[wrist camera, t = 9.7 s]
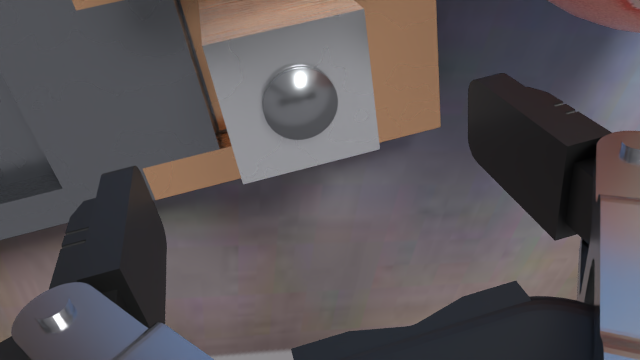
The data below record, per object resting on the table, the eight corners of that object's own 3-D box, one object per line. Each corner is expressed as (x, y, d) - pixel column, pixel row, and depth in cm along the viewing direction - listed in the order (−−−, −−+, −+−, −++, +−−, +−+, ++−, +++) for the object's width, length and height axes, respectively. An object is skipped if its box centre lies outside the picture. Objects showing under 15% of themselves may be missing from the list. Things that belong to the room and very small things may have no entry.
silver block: (230, 113, 21) (243, 188, 16) (198, 0, 18) (202, 48, 13) (338, 87, 21) (382, 152, 16) (320, -27, 19) (366, 10, 14)
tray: (-130, 241, 21) (-164, 281, 19) (-310, 27, 16) (-381, 51, 14) (418, 103, 24) (440, 126, 22) (404, -121, 19) (432, -119, 17)
